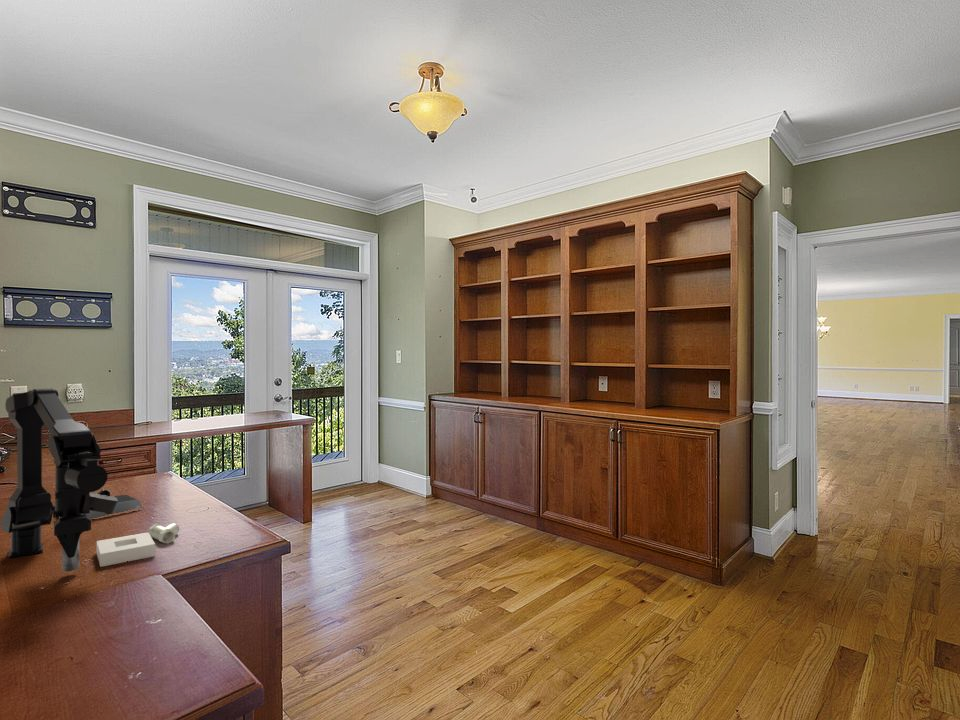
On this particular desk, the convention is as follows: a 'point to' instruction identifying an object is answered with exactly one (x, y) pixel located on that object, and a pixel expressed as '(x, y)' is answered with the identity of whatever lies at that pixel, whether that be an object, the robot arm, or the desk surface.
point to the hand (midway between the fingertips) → (70, 555)
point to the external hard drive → (119, 506)
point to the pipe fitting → (164, 532)
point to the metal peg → (70, 561)
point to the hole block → (125, 549)
